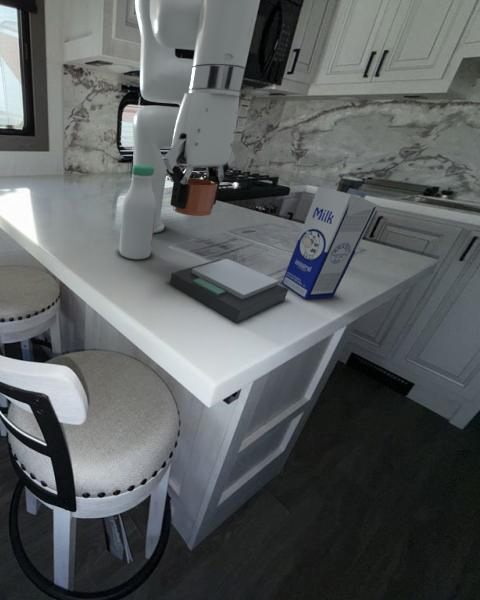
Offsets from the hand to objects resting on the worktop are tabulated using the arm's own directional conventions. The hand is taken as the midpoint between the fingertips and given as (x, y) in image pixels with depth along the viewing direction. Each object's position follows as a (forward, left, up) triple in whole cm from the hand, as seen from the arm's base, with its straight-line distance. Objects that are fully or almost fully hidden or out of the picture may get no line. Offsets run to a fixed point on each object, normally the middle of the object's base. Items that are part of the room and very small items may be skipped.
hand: (193, 204), depth 55 cm
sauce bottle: (+9, +39, -16) cm, 43 cm away
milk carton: (+16, +21, -16) cm, 31 cm away
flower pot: (0, 0, -1) cm, 1 cm away
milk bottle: (-16, +1, -16) cm, 23 cm away
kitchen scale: (+8, +5, -16) cm, 18 cm away
